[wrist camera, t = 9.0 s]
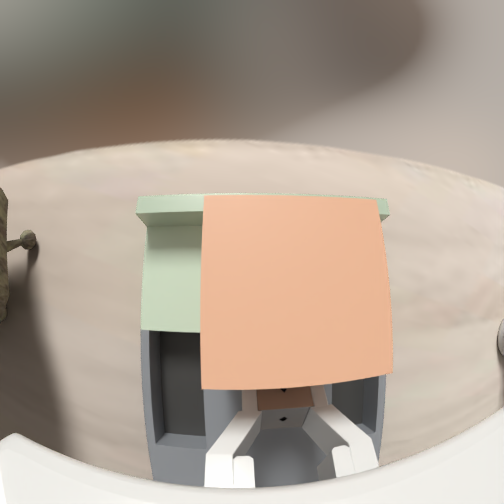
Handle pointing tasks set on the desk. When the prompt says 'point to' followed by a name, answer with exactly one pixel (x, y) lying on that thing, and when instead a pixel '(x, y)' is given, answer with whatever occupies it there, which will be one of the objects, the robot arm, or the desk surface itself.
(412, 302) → the desk surface
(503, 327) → the rook chess piece
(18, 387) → the desk surface
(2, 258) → the tabletop clock
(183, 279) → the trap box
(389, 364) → the block
